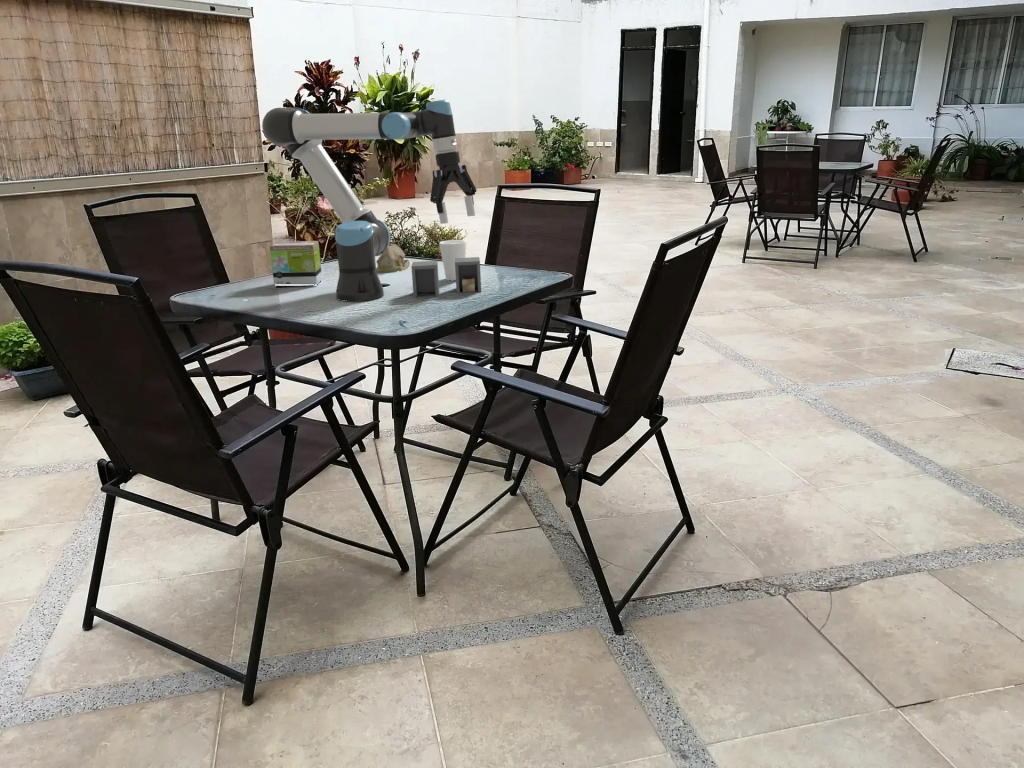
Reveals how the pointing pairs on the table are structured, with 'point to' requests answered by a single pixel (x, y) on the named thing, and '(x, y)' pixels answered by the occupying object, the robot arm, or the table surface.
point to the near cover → (425, 277)
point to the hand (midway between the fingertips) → (458, 219)
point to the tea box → (296, 262)
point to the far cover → (467, 271)
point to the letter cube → (468, 283)
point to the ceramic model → (392, 260)
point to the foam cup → (452, 255)
